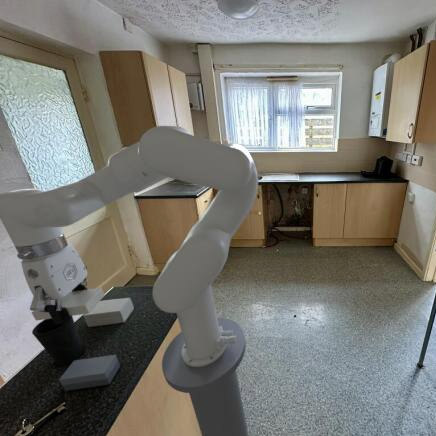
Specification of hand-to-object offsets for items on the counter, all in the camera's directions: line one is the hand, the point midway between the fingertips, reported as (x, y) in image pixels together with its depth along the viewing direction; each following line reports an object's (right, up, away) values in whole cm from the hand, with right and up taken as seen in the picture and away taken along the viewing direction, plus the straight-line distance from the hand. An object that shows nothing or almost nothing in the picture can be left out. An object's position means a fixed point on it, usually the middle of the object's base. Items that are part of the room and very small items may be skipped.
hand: (74, 310), depth 58 cm
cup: (-9, -16, +8) cm, 20 cm away
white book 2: (-7, -11, +22) cm, 25 cm away
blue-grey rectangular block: (+3, -18, +2) cm, 18 cm away
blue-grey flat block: (+3, -16, +1) cm, 16 cm away
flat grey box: (0, +1, 0) cm, 1 cm away
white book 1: (-7, -9, +21) cm, 24 cm away
